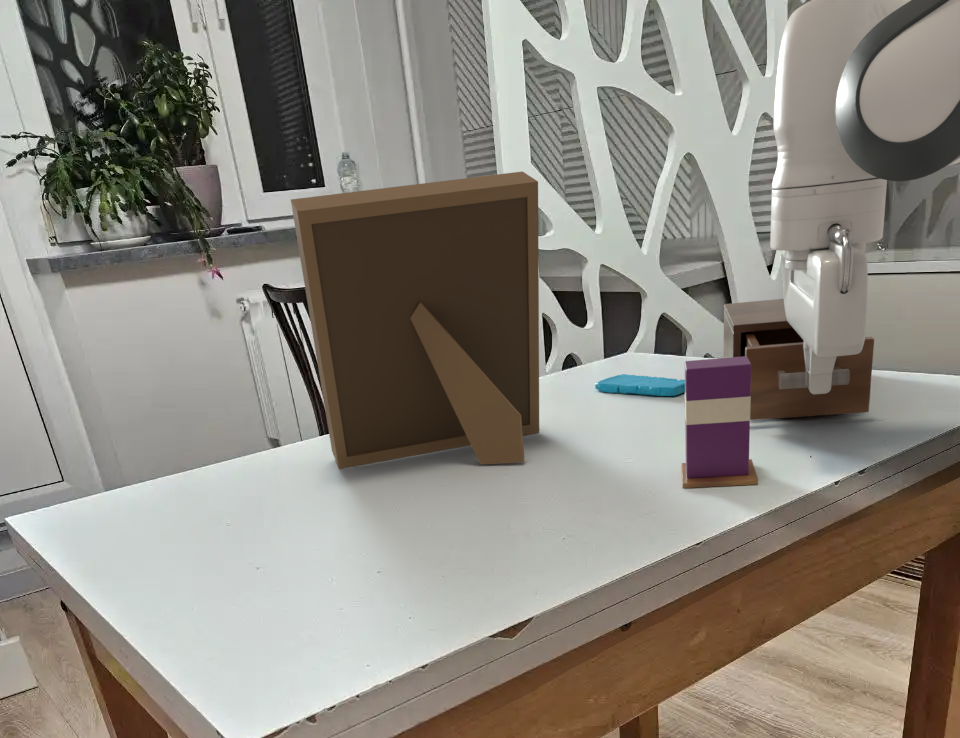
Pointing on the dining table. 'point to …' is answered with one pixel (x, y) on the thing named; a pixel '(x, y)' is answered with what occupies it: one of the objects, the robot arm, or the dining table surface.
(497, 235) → the photo frame
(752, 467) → the coaster
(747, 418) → the snack carton
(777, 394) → the drawer
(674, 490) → the dining table surface
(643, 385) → the sponge
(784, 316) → the cabinet
